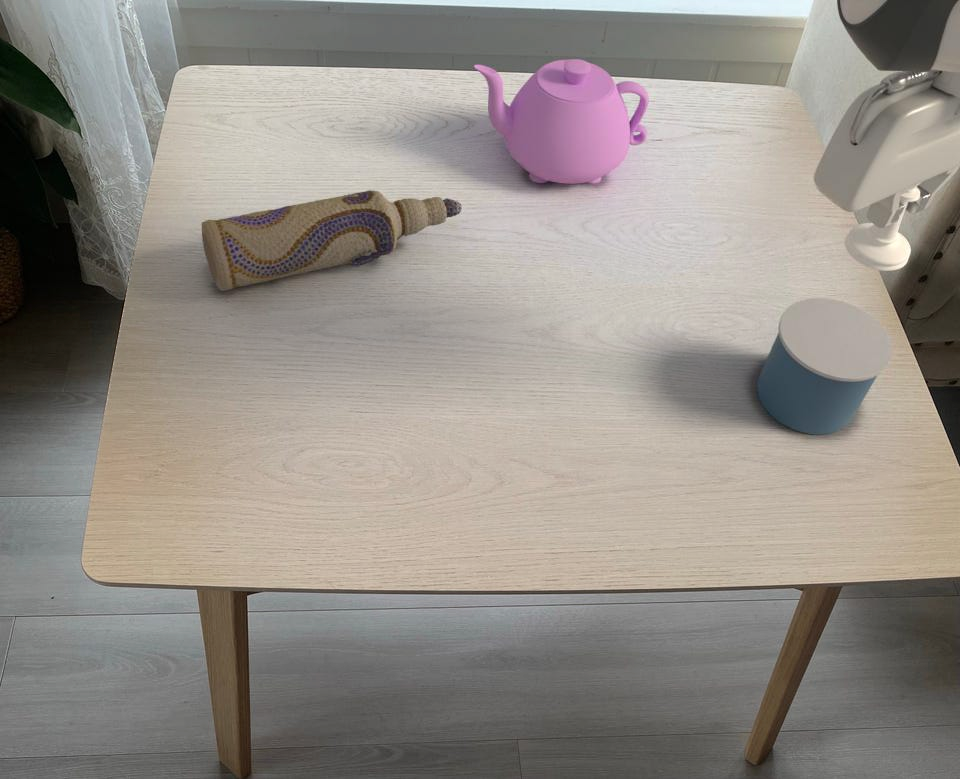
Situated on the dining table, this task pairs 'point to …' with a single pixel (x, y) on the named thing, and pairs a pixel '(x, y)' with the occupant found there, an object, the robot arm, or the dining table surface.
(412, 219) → the decorative bottle
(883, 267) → the chess piece
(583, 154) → the teapot
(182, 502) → the dining table surface
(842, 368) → the yogurt tub
